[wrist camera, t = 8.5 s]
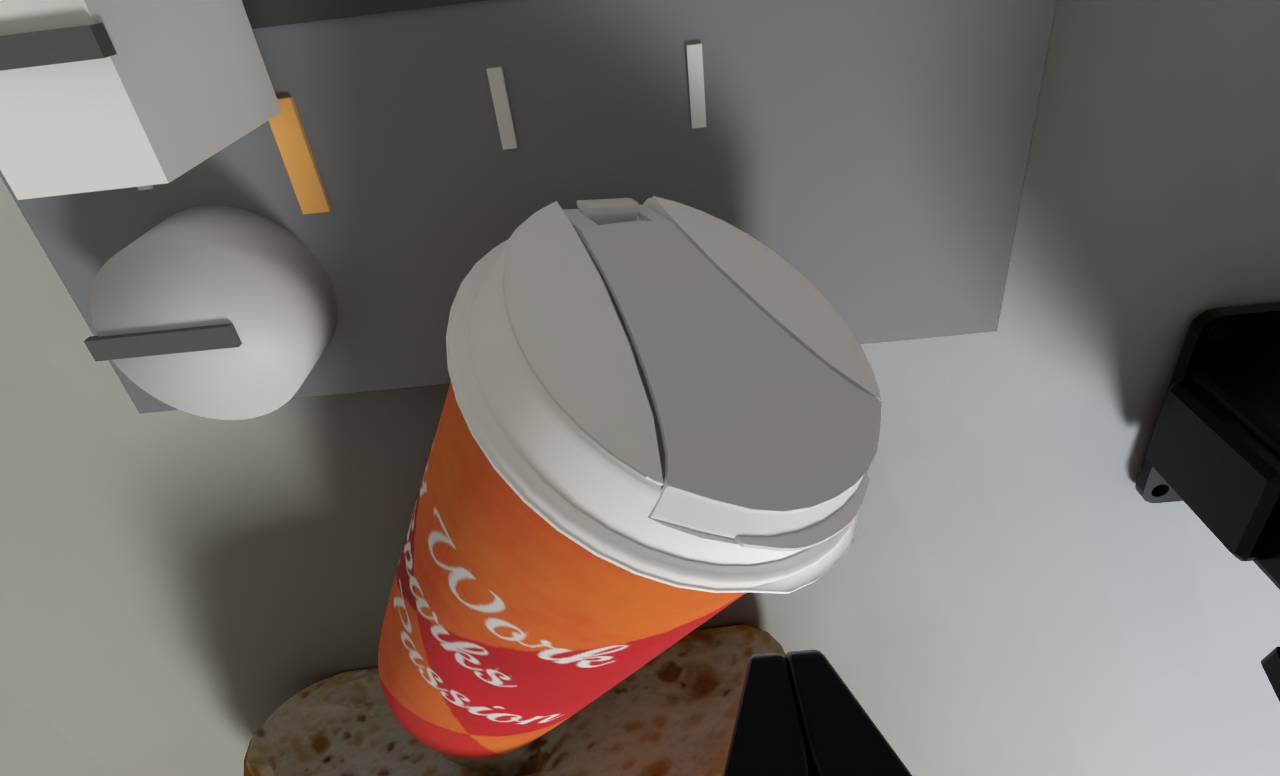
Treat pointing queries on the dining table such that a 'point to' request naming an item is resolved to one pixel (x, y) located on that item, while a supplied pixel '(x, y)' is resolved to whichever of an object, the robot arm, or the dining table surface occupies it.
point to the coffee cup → (616, 464)
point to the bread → (553, 763)
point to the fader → (123, 91)
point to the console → (554, 176)
